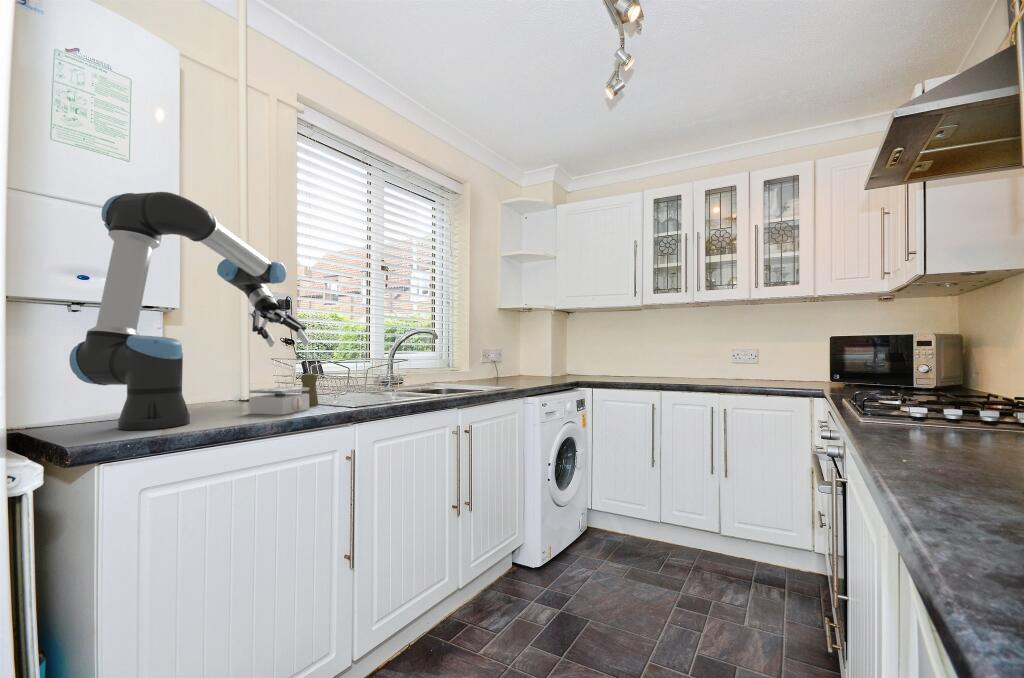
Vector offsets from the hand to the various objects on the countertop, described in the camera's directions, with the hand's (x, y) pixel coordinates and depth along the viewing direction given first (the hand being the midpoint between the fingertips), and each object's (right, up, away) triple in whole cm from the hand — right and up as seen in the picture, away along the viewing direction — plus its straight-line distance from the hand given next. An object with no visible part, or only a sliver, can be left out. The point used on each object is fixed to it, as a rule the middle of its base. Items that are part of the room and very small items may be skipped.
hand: (290, 344), depth 173 cm
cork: (+9, -21, -6) cm, 24 cm away
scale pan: (+6, -15, -21) cm, 26 cm away
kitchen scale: (+6, -21, -21) cm, 30 cm away
